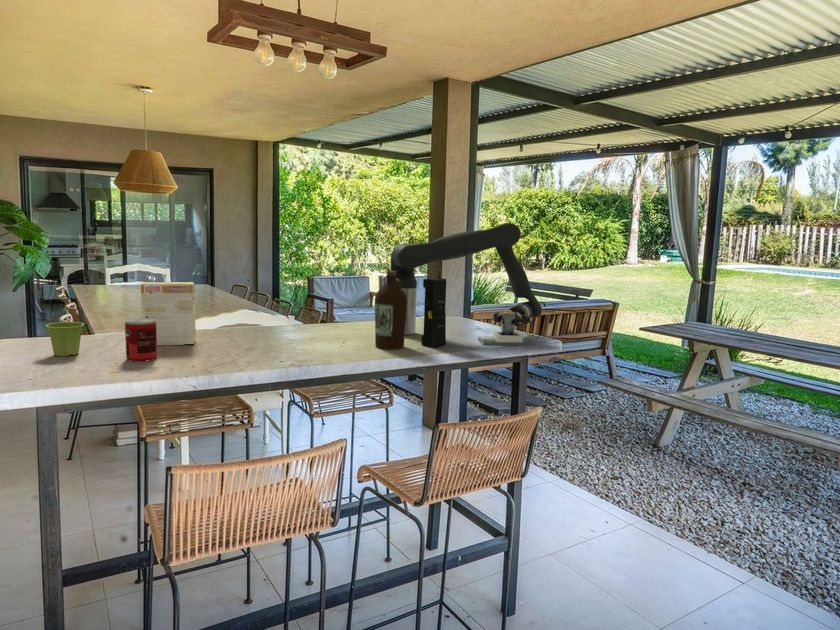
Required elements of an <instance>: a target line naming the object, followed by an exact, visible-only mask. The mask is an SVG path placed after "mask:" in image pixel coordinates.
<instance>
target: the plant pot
mask: <svg viewBox="0 0 840 630" xmlns="http://www.w3.org/2000/svg"><path fill="white" fill-rule="evenodd" d="M84 326H85V323H83V322H76V321H61V322H53V323H47V324H46V325H45V327H46V328H47V331H48V333H49V337H50V338H49V339H50V341H51V347H52V351H53V355H54V356H56V357H69V356H76V354H77V355H79V354H78V353H80V347H81V337H82V331H83V328H84Z"/></svg>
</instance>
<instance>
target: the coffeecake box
mask: <svg viewBox="0 0 840 630" xmlns="http://www.w3.org/2000/svg"><path fill="white" fill-rule="evenodd" d="M140 293H141V294H140V295H141V318H149V319H155V320H156V338H157V346H185V345H184V344H195V343H196V341H197V339H196V338H197V337H196V336H197V335H196V334H197V333H196V331H197V330H196V297H195V296H196V289H195V282H194V281H187V282H186V281H184V282H183V281H181V282H180V281H175V282H172V281H170V282H169V281H168V282H167V281H164V282H163V281H162V282H161V281H157V282H156V281H153V282H152V281H151V282H150V281H145V282H142V283H140Z"/></svg>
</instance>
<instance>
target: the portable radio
mask: <svg viewBox="0 0 840 630" xmlns="http://www.w3.org/2000/svg"><path fill="white" fill-rule="evenodd" d="M440 272H441V271H439V270H438V276H437V277H435V278H434V277H433V278H423V279H422V280H423V283H422V287H423V288H424V311H423V334H422V335H421V343H420V344H421V345H422V346H425V347H429V346H430V347H431V348H438V347H441V345H442V346H445V345H446V343H447V341H446V340H447V337H446V335H447V334H446V333H447V331H446V322H447V321H446V319H447V318H446V315H447V313H446V301H447V300H446V299H447V298H446V297H447V279H446V278H441V276H440ZM437 346H438V347H437ZM430 347H429V348H430Z"/></svg>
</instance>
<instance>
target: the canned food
mask: <svg viewBox="0 0 840 630" xmlns="http://www.w3.org/2000/svg"><path fill="white" fill-rule="evenodd" d="M124 321H125V322H124V324H125V325H124V332H125V333H124V335H125V354H126V355H125V356H126V360H127V359H128V361H129V360H132V361H131V362H134V361H143V362H147V361H146V360H151V361H153V360H152V359H154V360H156V359H157V357H158V350H157V349H158V347H157V346H158V345H157V338H156V320H155V319H149V318H142V317H141V318H140V317H138V318H137V317H135V318H130V319H126V320H124ZM155 358H156V359H155Z"/></svg>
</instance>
